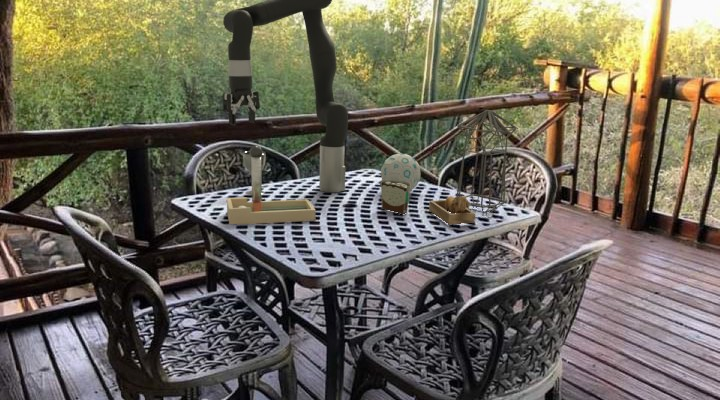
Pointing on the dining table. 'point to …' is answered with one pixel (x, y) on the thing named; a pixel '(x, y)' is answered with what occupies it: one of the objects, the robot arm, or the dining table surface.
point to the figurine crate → (449, 218)
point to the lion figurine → (457, 204)
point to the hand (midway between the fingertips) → (242, 123)
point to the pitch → (269, 211)
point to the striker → (256, 178)
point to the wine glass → (248, 165)
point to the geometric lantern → (491, 119)
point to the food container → (395, 195)
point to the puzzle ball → (401, 169)
